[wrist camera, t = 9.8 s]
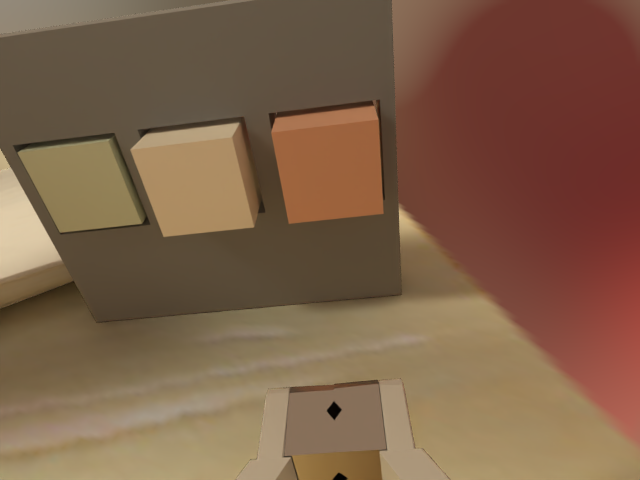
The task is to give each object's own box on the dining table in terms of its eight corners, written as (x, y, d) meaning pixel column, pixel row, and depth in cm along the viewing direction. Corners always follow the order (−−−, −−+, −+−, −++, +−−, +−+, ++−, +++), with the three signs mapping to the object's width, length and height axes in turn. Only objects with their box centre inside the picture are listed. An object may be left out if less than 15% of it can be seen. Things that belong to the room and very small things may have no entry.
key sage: (59, 232, 25) (17, 152, 22) (91, 199, 28) (58, 126, 25) (141, 223, 24) (108, 141, 22) (164, 191, 28) (137, 116, 25)
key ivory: (163, 236, 23) (130, 149, 20) (184, 200, 26) (158, 121, 23) (254, 227, 22) (232, 137, 20) (263, 191, 26) (245, 110, 23)
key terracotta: (288, 223, 22) (271, 132, 20) (293, 188, 25) (279, 106, 23) (383, 213, 22) (378, 119, 19) (375, 179, 25) (370, 95, 23)
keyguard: (96, 322, 29) (-57, 45, 20) (135, 260, 35) (31, 25, 25) (401, 294, 27) (391, -20, 18) (387, 234, 33) (374, -26, 24)
